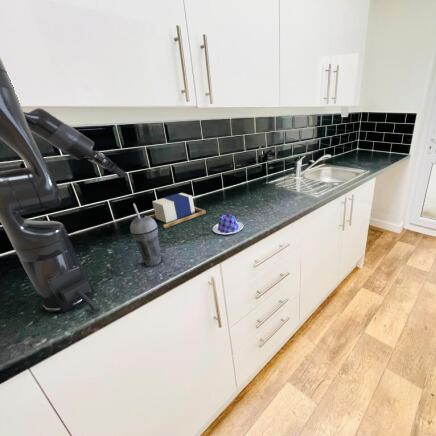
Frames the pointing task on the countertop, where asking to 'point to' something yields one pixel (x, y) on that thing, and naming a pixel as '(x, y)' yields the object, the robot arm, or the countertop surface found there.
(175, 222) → the oak frame
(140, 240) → the beverage cup
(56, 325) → the countertop surface
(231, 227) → the pudding
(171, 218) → the eraser
